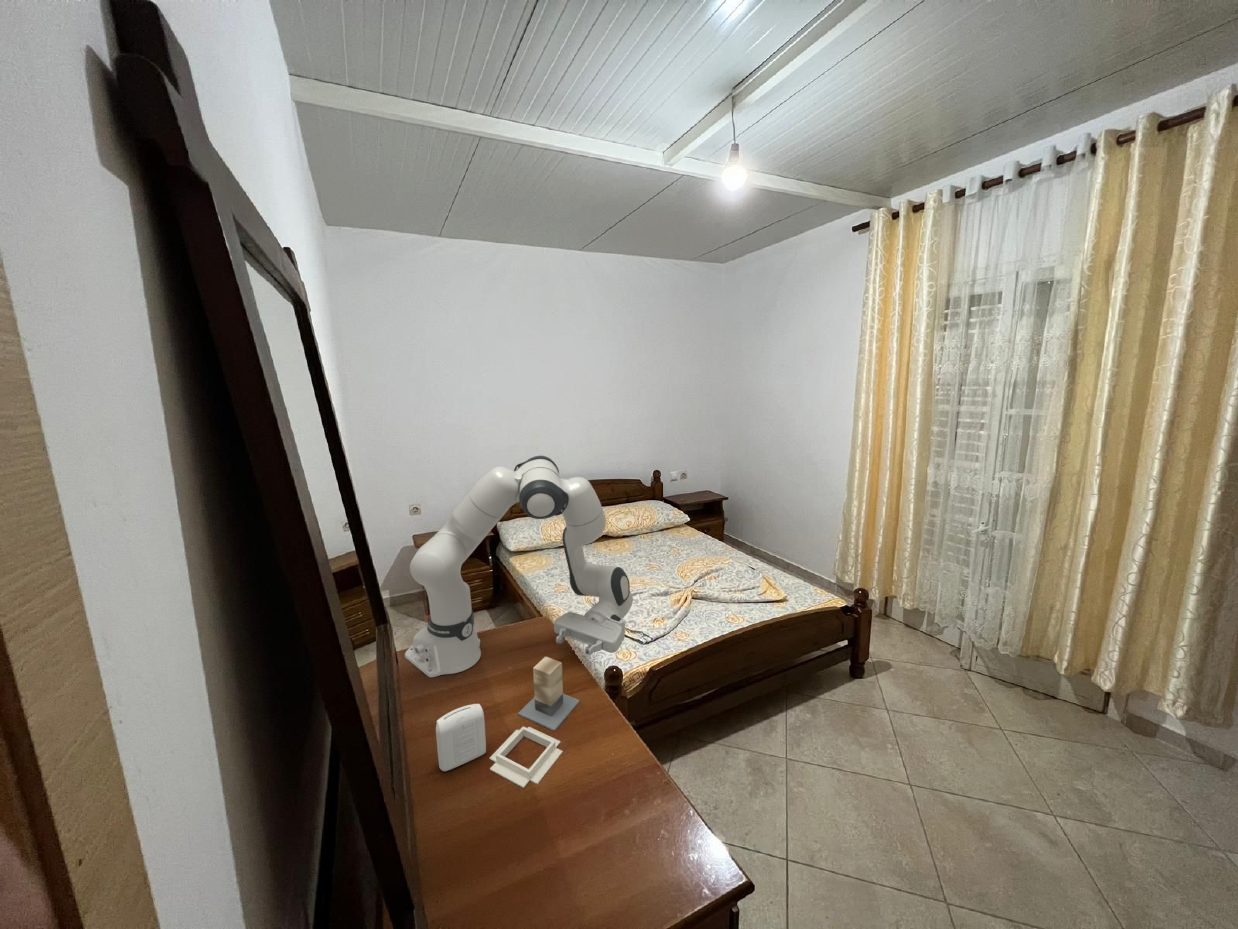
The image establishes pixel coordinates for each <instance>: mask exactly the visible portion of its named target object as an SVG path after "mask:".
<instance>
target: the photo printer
mask: <svg viewBox="0 0 1238 929" xmlns="http://www.w3.org/2000/svg"><path fill="white" fill-rule="evenodd" d="M484 713H485V712H484V709H483V707H482V706H481V704H480V703H472V704H468V705H464V706H461V707H458V708H456V709H453V710H452V711H449V712H447V713H446V714H444V715H443V716H441V717H439V718H438V719H437V720H436V721H435V722H436V725H435V726H436V727H435V738H436V747H437V748H436V749H437V758H438V766H439V770H441V771H442V772H448V771H450V770H453V769H455V768H457V767H459V766H461V765H465V764H466V763H469V762H470V761H473V760H476V759H477V758H479V757H481V756H483V755H485V754H486V753H487V740H486V738H487V737H486V724H485V723H486V722H485V714H484Z"/></svg>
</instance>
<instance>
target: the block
mask: <svg viewBox="0 0 1238 929" xmlns="http://www.w3.org/2000/svg"><path fill="white" fill-rule="evenodd" d="M532 669H533V670H532V672H533V692H534V693H533V694H534V696H533V698H534V697H535V710H537V711H540V712H542V713H544V714H546V715H549V716H551V717H552V715H553V714H554V713H555V712H556V711H557V710H558V709H559V708H560V707H561V705H562V704H563V694H564V689H563V687H564V686H563V662H561V661H558V660H556V659H554V658H552V657H548V656H544V657H543V658H542V659H541V660H540V661H538V663H537V664H536V665H535V666H533V668H532Z"/></svg>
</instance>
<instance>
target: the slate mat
mask: <svg viewBox="0 0 1238 929" xmlns="http://www.w3.org/2000/svg"><path fill="white" fill-rule="evenodd" d="M580 702H581V701H580V699H577V698H575V697H573V696H570V695H568V694H565V693H563V704H562V705H561V707H560V708H559V709H558V710H557V711H556V712H555V713H554V714H553V715H552V717H551V716H549V715H546V714H544V713H542V712H540V711H537V710H535V697H534V696H533V697H532V699H531V700H529V701H528V703H526V705H525V706H524V707H523V708H522V709H520V711H519V712H518V713H517V715H518V716H519V717H521V718H523V719H526V720H528V721H530V722H533V723H535V724H537V725H539V726H541V727H544V728H545V729H547V730H550V731H552V732H556V730H557V729H558V728H559V727H560V726H561V725H562V723H563V722H564V721H565V720H566V719H567V717H568V716H569V715H570V714H571V713H572V711H574V709H575V708H576V707H577V706H578V704H580Z"/></svg>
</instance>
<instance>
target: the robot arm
mask: <svg viewBox="0 0 1238 929" xmlns="http://www.w3.org/2000/svg"><path fill="white" fill-rule="evenodd" d="M517 503H519V504H520V508H521V509H522V511H523V513H525V515H526V516H528V517H530V518H531V519H535V520H545V519H549V518H552V517H555V516H557V517H558V516H560V515H562V517H563V519H564V522H565V527H564V529H563V531H562V535H561V537H562V544H563V550H564V555H565V558H566V563H567V568H568V572H569V585H570V588H571V590H572V591H573V592H574V594H575V595H576V596H579V597H581V596H583V597H596V598H598V601H597V602H596V603H595V604H594V605H592V606H591V607H590V608H589V609H588V610H587V611H586V612H585V613H584V614H579V613H577V612H575V611H568V612H566V613H564V614H562V615H560V616H559V617H556V619H554V622H553V630H554V633H555V634H557V636H556V638H555V643H557V644H560V645H562V644H564V642H565V638H568V639H570V640H575V641H577V642H580V643H583V644H585V645H587V646H586V647H585V652H584V653H585V654H586V655H589V656H591V655H592V654H593V653H598V652H599V651H605V652H607V653H610V654H612V653H616V652H617V651H619V649H620V647H621V646H622V643H623V641H624V640H625V636H626V621H625V619H624V618H625V617H626V615H627V614H628V613H629V612H630V610H631V608H632V606H633V604H634V598H633V597H634V596H633V593H632V592H631V589H630V588H631V587H630V579H629V576H628V575H627V573H626V572H625V570H624V569H623V568H622V567H620V566H614V565H605V564H604V565H603V564H595V563H590V562H588V561H587V560H586V558H585V554H584V548H583V546H587V545H590V544H592V543H594V542H595V541H596V540H598V539H599V537H601V536H602V534H603V533H604V531H605V529H606V526H607V521H606V515H605V512H604V509H603V507H602V503H601V501H600V499H599V497H598V495H597V493H596V491H595V489H594V488H593V485H592V484H591V482H590V481H589V479H586V478H584V477H582V476H574V477H569V478H563V477H561V476H560V470H559V468H558V466H557V464H556V462H554V460H553V459H552V458H550V457H548V456H545V455H536V456H533V457H530V458H528V459H527V460H525V461H523V462H519V463H518V464H516V465H515V468H514V469H513V470H512V469H511V468H508V467H505V466H501V465H499V466H495V467H492V468H491V469H490V470H489V471H488V472H486V473H485V474H484V475H483V476H482V477H481V478H480V479H479V480H477V482H476V483H475V484H474V485H473V486H472V488H470V490H468V492H467V493H466V495H464V497H463V498H462V499H461V500H460V502H459V503H458V504H457V506H456V507H455V508H454V509H453V511H452V513H451V515H450V516H449V518H448V519H447V521H446V522H445V524H444V525H443V526H442V527H441V528H440V530H438V531H437V532H436V533H435V534H434V535H433V536H432V537H431V538H430V539H428V541H426V542H425V543H424V544H423V545H421V546H420V547H419V548H418V549H417V551H416V553H414V555H413V557H412V560H411V561H410V564H409V572H410V575H411V576H412V578H413V580H414V581H415V582H417V584H419V585H420V586H423V587H424V589H425V591H426V594H427V598H428V604H429V605H428V606H429V615H427V616H424V617H423V618H424V619H425V620H424V622H427V621H428V622H427V625H425V626H423V628H421V629H420V630H419V631H417V633H416V634H415V635H414V636H413V638H412V645H411V646H410V647H408V649H407V650H406V651H405V653H404V658H405V659H406V660H407V661H408V662H410V663H411V664H412V665H414V667H416V668H417V669H419V671H421V672H422V673H424V675H426V676H427V677H428V678H435V677H439V676H441V675H442V676H444V675H453V674H457V673H458V674H459V673H460V672H464V671H466V670H468V669H470V668H471V667H473V666H475V665H476V664H477V663H478V661H479V660H480V658H481V656H482V651H481V647H480V645H481V639H480V638H479V637H478V633H477V628H476V623H475V614H474V610H473V609H472V600H471V588H470V585H469V584H468V583H467V582H466V581H464V580H463V577H462V575H461V573H462V572H461V568H462V565H463V564H464V563H465V562H466V560H467V559H468V558H469V557H470V555H472V554H473V552H474V551H475V550H476V549H477V548H478V546H479V545H481V543H482V542H483V540H484V539H485V538H486V537H487V536H488V534H489V533H490V532H491V531H492V529H493V528H494V527H495V526H496V525H497V524H498V522H499V521H500V520H501V519H502V518H503V517H504V516H505V514H506V513H507V512H508V510H510V508H511V507H512V506H514V505H515V504H517ZM411 649H412V650H411Z"/></svg>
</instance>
